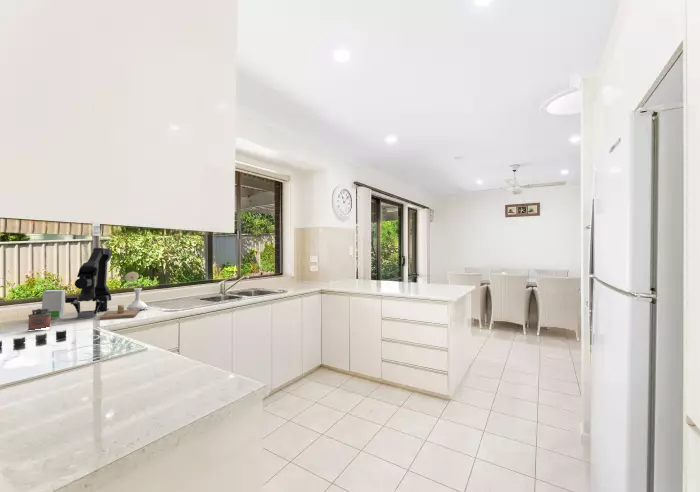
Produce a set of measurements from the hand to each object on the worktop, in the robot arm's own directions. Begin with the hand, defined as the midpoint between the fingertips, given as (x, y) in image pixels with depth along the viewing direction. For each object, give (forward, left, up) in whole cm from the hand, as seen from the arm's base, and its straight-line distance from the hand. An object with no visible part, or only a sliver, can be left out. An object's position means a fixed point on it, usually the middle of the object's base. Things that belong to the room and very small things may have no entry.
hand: (87, 314), depth 180 cm
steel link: (0, 0, -2) cm, 2 cm away
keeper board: (+2, +16, -2) cm, 16 cm away
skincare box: (-4, -16, -2) cm, 17 cm away
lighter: (+30, -11, -2) cm, 32 cm away
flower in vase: (-17, +21, -2) cm, 27 cm away
